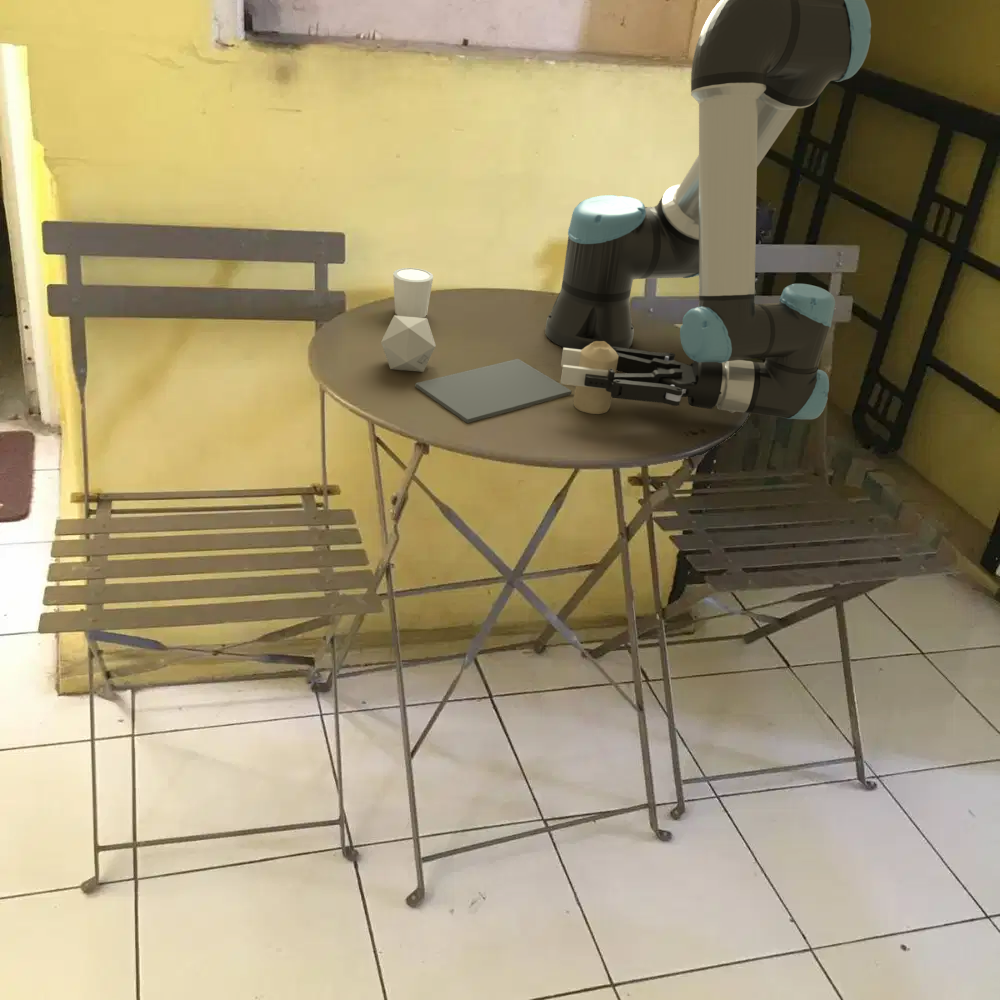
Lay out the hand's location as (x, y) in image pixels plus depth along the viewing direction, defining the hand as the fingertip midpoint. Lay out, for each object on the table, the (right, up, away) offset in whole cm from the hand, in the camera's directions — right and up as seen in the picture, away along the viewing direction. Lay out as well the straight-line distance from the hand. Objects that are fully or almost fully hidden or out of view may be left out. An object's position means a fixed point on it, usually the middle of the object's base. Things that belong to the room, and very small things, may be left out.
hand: (562, 365), depth 150 cm
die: (-24, +1, +9) cm, 25 cm away
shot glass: (-25, +13, +28) cm, 39 cm away
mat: (-10, -3, +4) cm, 11 cm away
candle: (+5, -6, +3) cm, 8 cm away
